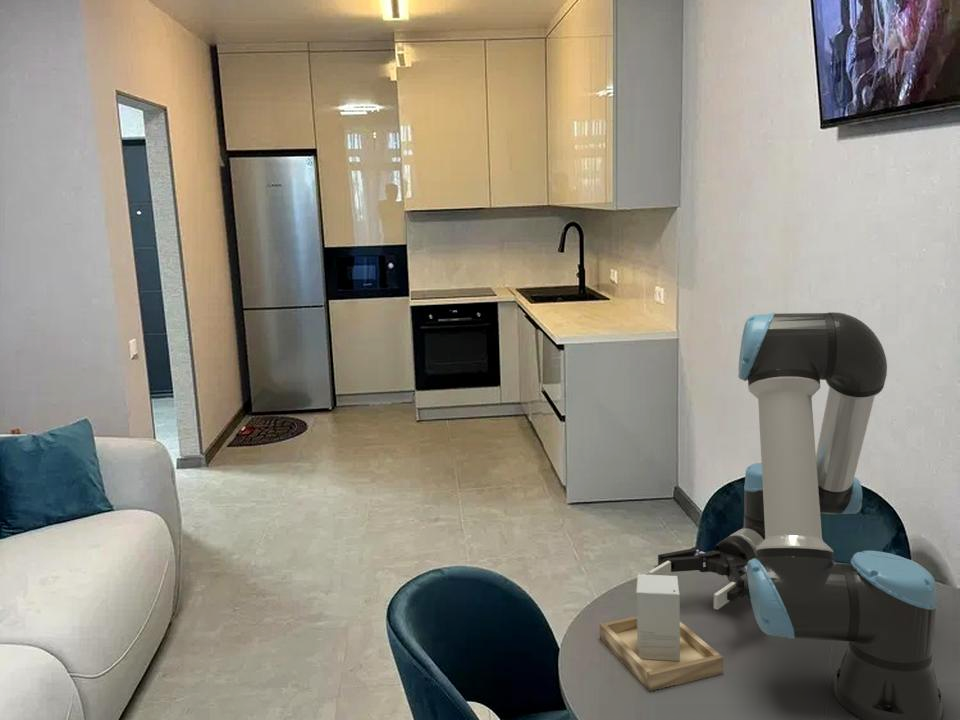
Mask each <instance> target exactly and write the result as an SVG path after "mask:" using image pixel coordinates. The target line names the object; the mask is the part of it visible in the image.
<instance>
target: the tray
mask: <svg viewBox="0 0 960 720" xmlns="http://www.w3.org/2000/svg"><path fill="white" fill-rule="evenodd" d="M599 640H601V642H603V644H604V645H605V646H606V647H607V648H608V649H609V650H610V651H611V653H613V654H614V655H615V656H616V657H617V659H618V660H619V661H620V662H621V663H622V664H623V665H624V666H625V667H626V668H627V670H629V671H630V673H632V674H633V675H634V676H635V677H636V678H637V680H638V681H639V682H640V683H641V684H642V685H643V686H644V687H645V688H646V689H647V690H648V692H650V691H651V692H654V691H653V690H655V691H658V690H657V689H659V690H662V688H663V689H666V688H665V687H667V688H670V687H669V686H671V687H674V686H673V685H675V686H679V685H683V684H687V683H692V682H695V681H698V680H699V681H700V680H703V679H706V677H707V678H711V677H715V676H718V675H722V674H723V673H724V657H723V656H722V655H721V654H720V653H719V652H717V651H716V650H715V649H714V648H713V647H712V646H710V645H709V644H708V643H706V642H705V641H704V640H703V639H702V638H701V637H700V636H698V635H697V634H696V633H695V632H693V631H692V629H690V628H689V627H688V626H686V625H685V624H684V623H683V622H681V621H680V661H670V660H655V659H640V658H639V657H638V641H637V615H634V616H630V617H625V618H621V619H617V620H611V621H610V620H609V621H606V622H602V623H601V622H600V623H599Z"/></svg>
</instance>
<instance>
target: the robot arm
mask: <svg viewBox="0 0 960 720" xmlns="http://www.w3.org/2000/svg"><path fill="white" fill-rule="evenodd" d="M738 357H739V358H738V359H739V360H738V378H739V380H742V381H743V382H747V383H748V384H747V385H748V392H749V393H751V395H753V396H754V397H755V398H756V399H757V401H758V421H759V423H758V424H759V436H760V438H759V440H760V458H761V459H760V460H761V462H757V463H756V462H755V463H753V464H750V465H749V466H747V468H746V469H745V476H744V485H743V489H744V495H743V496H744V498H743V501H744V504H743V505H744V506H743V509H744V510H743V511H744V512H743V527H742V528H741V529H738V530H737V531H735V532H733V533H731V534H730V535H729V536H727V537H726V538H724V539H722V540H721V541H719V542H717V543H716V545H715V546H714V548H713V549H712V550H710V551H706V552H704V551H701V550H702V549H701V547H700V546H698V545H697V546H694V547H691V548H688V549H682V550H677V551H671V552H665V553H660V554H658V555H657V565H655V566H654V568H653V569H651V570H649V571H648V572H647V573H648V574H647V575H666V576H672V573H675V572H678V573H679V572H690V571H691V572H693V571H699V572H700V573H715V574H717V575H719V576H722V577H723V576H725V577H727V580H728V581H729V582H730V583H728V584H727V585H725V586H724V587H722V588H721V589H719V590H718V591H717V592H715V593H714V594H713V610H719V609H721V608H722V607H724V606H725V605H727V604H728V603H729V602H735V601H736V600H737V599H739V598H743V597H744V596H746V597H747V598H748V599H750V602H751V607H752V611H753V615H754V618H755V622H756V623H757V626H758V628H759V629H760V630H761V632H763V633H764V634H766V635H768V636H773V637H780V638H781V637H782V638H788V639H790V640H793V639H805V640H820V641H822V640H823V641H837V642H848V646H847V649H846V651H845V653H844V655H843V657H842V660H841V662H840V665H839V667H838V669H837V671H836V672H835V677H834V685H833V686H834V690H833V691H834V695H835V698H836V700H837V701H838V703H839V704H840V705H841V706H843V708H844V709H845V710H847V712H850V713H851V714H852V715H853V716H856V717H857V718H860V719H861V720H941V719H942V715H943V703H944V702H943V701H944V700H943V696H942V692H941V690H940V689H939V687H938V682H937V677H936V673H935V670H934V667H933V651H934V637H935V622H936V611H937V608H938V602H937V583H936V581H935V578H934V576H933V575H932V574H931V572H929V571H928V570H927V569H926V568H925V567H923V566H922V565H921V564H919V563H918V564H917V562H916V561H914V560H912V559H909V560H908V558H905V557H903V556H901V555H897V554H893V553H890V552H885V551H878V550H863V551H858V552H855V553H854V554H853V556H852V558H851V559H850V563H836V562H835V553H834V550H833V548H831V547H830V546H829V545H828V544H827V543H826V542H825V541H824V540H823V534H822V519H821V518H822V517H821V514H826V515H838V516H839V515H847V514H848V515H849V514H851V515H854V514H857V513H858V512H860V511H861V509H862V505H863V487H862V484H861V481H860V480H859V479H858V478H857V477H855V475H856V471H857V467H858V464H859V460H860V455H861V452H862V447H863V444H864V440H865V436H866V432H867V428H868V425H869V421H870V417H871V413H872V408H873V405H874V401H875V397H876V396H877V395H879V394H880V393H882V391H883V389H884V386H885V383H886V379H887V376H888V375H887V374H888V363H887V361H888V360H887V357H886V353H885V350H884V347H883V345H882V343H881V341H880V339H879V338H878V336H877V335H876V333H875V332H874V331H873V330H872V329H871V328H870V327H869V325H867V324H866V323H865V322H863V321H862V320H860V319H858V318H857V317H855V316H852V315H850V314H846V313H842V312H835V311H834V312H832V311H829V312H812V313H811V312H807V313H805V312H803V313H802V312H801V313H800V312H799V313H798V312H797V313H795V312H794V313H775V312H771V313H765V314H764V313H762V314H753V315H751V316H749V317H748V318H747V319H746V321H745V324H744V326H743V331H742V335H741V343H740V349H739V356H738ZM821 380H823V381H825V382H826V384H827V385H828V387H829V389H828V394H827V397H826V398H827V399H826V402H825V408H824V414H823V418H822V423H821V428H820V433H819V439H818V443H817V447H816V440H815V426H814V413H813V401H812V399H813V398H812V397H813V396H815V394H816V393H817V392H819V390H820V388H821ZM911 560H912V561H911ZM913 561H914V562H913ZM915 562H916V563H915ZM704 565H705V566H704ZM745 574H746V576H747V584H748V585H746V584H745V579H743V578H742V577H743V576H744V575H745Z"/></svg>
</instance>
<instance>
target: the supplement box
mask: <svg viewBox="0 0 960 720" xmlns="http://www.w3.org/2000/svg"><path fill="white" fill-rule="evenodd" d="M636 576H637V577H636V589H635V591H636V592H635V595H636V616H637V641H638V657H639V658H640V659H655V660H670V661H680V622H681V606H680V605H681V599H680V598H681V593H680V586H679V579H678V576H677V575H670V576H666V575H648V574H642V573H638V574H637V575H636Z"/></svg>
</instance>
